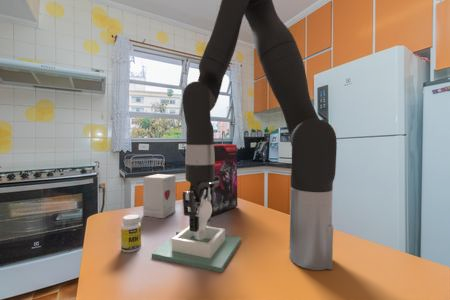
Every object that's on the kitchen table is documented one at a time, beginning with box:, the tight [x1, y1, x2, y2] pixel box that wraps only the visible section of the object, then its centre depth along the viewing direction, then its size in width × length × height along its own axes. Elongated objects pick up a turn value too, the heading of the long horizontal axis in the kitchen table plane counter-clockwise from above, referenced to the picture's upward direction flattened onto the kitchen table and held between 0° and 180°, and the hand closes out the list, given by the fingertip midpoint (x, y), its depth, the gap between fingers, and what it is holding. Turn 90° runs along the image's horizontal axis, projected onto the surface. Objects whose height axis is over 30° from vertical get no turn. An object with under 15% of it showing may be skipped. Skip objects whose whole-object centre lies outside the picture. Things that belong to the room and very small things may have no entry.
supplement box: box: [142, 173, 176, 219], centre depth 85 cm, size 9×9×15 cm
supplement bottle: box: [120, 214, 142, 253], centre depth 58 cm, size 5×5×8 cm
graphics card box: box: [209, 143, 238, 217], centre depth 90 cm, size 17×7×27 cm, turn 141°
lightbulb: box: [188, 199, 212, 240], centre depth 57 cm, size 6×6×11 cm
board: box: [151, 225, 242, 273], centre depth 58 cm, size 18×16×4 cm
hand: (200, 225), depth 58 cm, fingers closed on lightbulb, 6 cm apart
